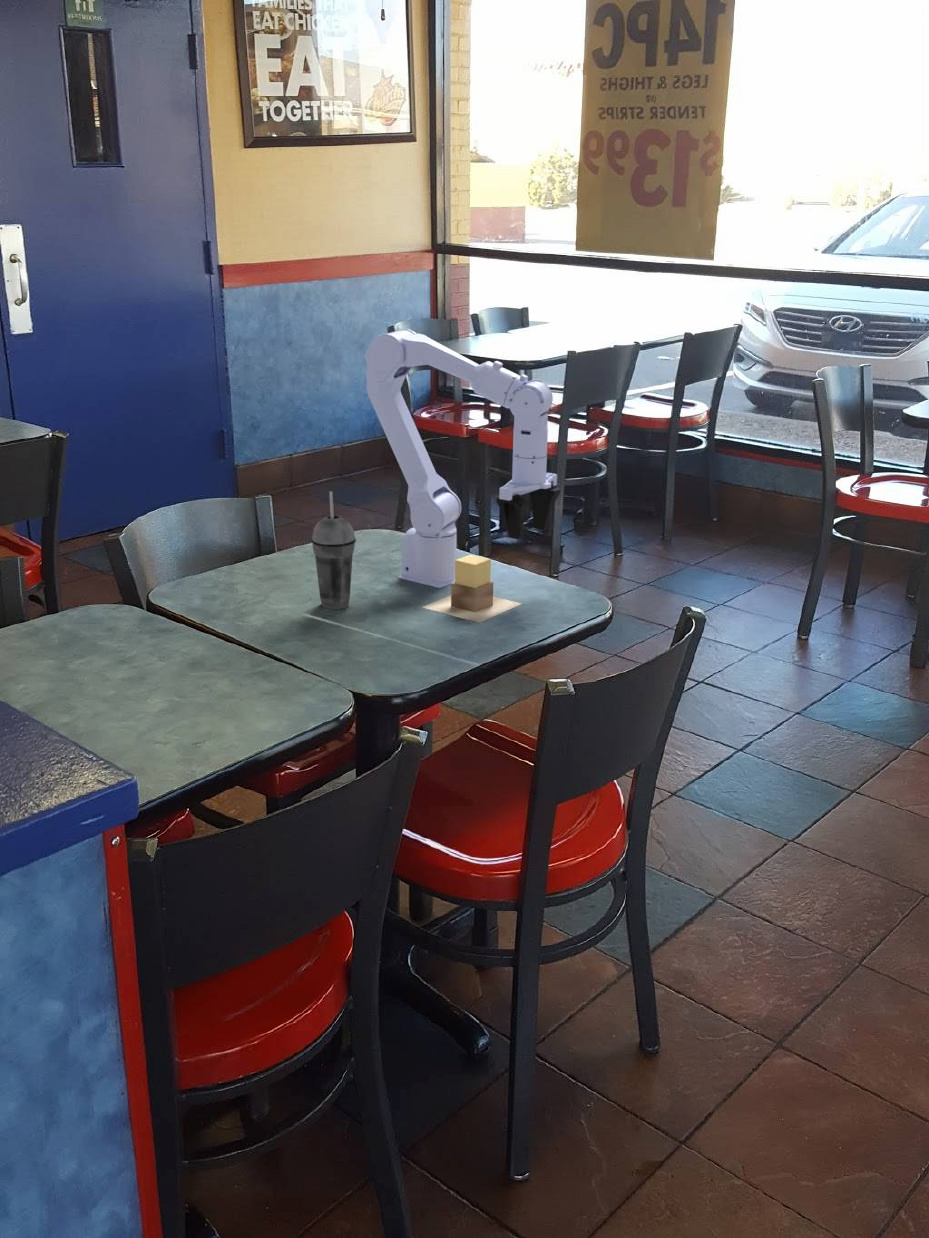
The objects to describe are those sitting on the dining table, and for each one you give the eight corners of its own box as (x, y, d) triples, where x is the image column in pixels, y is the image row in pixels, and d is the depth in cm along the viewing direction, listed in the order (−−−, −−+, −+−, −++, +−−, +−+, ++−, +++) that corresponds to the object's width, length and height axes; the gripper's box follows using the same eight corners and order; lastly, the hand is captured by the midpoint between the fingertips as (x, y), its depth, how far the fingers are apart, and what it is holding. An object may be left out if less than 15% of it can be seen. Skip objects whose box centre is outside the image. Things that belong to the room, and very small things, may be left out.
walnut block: (451, 606, 200) (451, 583, 199) (469, 598, 204) (469, 576, 203) (475, 612, 197) (475, 589, 196) (492, 604, 201) (493, 581, 200)
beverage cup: (360, 600, 204) (358, 485, 197) (352, 615, 197) (350, 495, 190) (318, 599, 204) (314, 483, 197) (309, 613, 197) (305, 494, 191)
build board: (421, 609, 200) (421, 607, 200) (464, 591, 209) (464, 589, 209) (479, 624, 193) (479, 622, 193) (522, 605, 202) (522, 603, 202)
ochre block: (454, 583, 199) (455, 560, 198) (470, 577, 202) (470, 554, 201) (475, 588, 197) (475, 564, 195) (490, 582, 200) (490, 559, 198)
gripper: (525, 465, 194) (522, 546, 198) (573, 451, 205) (569, 528, 209) (489, 459, 198) (488, 539, 202) (538, 446, 209) (536, 521, 213)
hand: (527, 533), depth 206 cm, fingers open, 7 cm apart
